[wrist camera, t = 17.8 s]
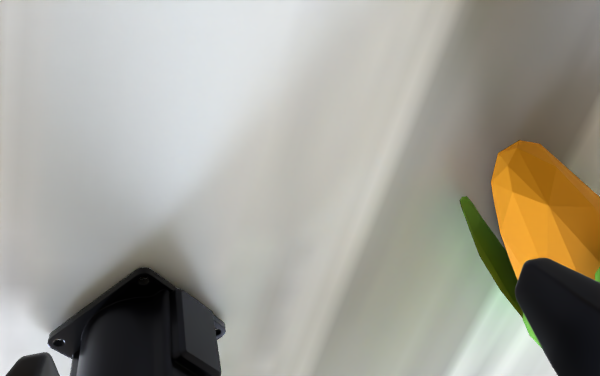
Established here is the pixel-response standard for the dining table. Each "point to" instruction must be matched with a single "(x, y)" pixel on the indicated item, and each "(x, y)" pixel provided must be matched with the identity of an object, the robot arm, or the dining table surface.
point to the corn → (536, 218)
